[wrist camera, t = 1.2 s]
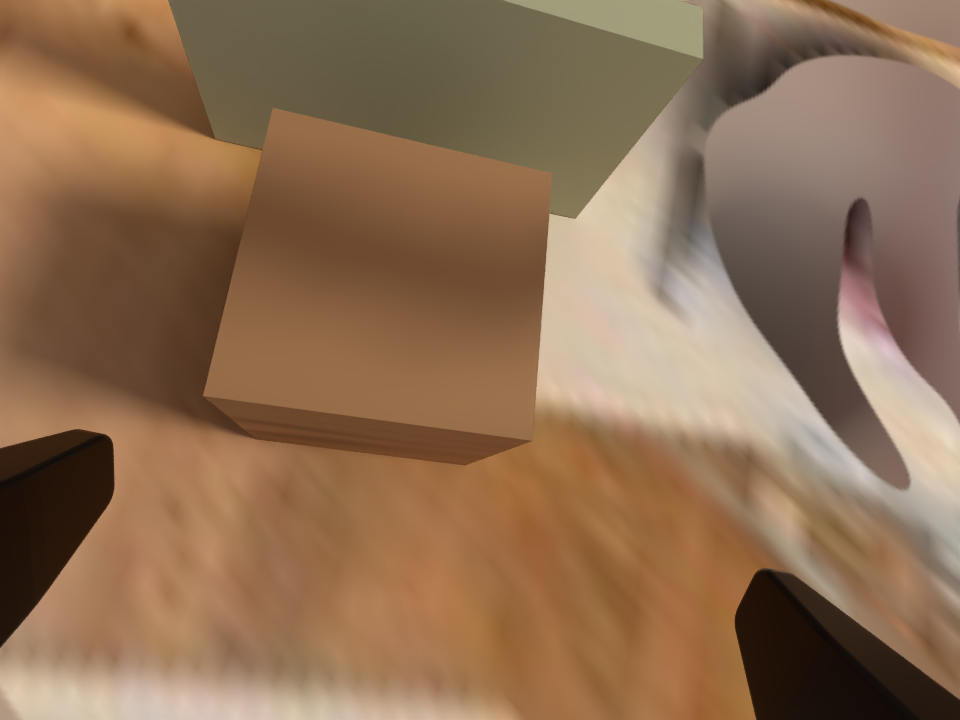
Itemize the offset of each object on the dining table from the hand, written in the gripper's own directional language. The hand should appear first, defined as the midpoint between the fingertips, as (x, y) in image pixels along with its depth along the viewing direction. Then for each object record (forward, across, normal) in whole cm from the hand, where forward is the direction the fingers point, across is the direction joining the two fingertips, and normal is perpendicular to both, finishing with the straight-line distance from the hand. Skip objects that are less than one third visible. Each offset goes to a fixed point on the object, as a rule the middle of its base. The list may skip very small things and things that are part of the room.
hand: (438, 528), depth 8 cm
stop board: (+20, +4, -3) cm, 21 cm away
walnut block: (+15, +3, +4) cm, 16 cm away
